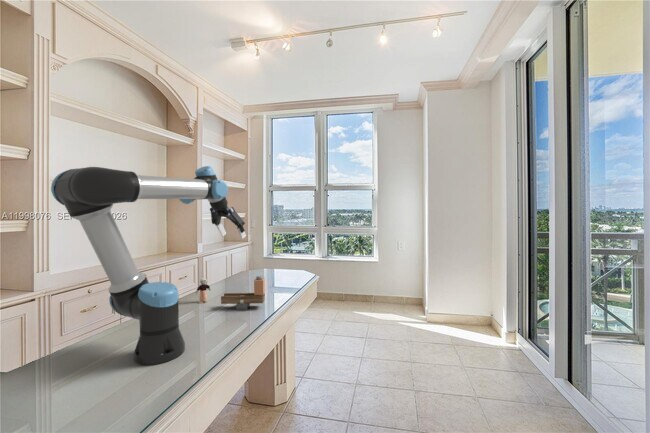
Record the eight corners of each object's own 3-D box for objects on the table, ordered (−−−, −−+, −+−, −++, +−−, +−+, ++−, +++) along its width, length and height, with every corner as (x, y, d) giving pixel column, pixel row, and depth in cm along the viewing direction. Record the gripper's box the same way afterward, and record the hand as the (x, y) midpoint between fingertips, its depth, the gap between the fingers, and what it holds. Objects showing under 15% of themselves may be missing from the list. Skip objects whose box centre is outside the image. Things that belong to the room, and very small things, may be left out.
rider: (263, 298, 147) (263, 277, 147) (254, 298, 147) (254, 277, 147) (264, 295, 152) (264, 275, 151) (256, 295, 152) (255, 275, 151)
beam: (262, 309, 146) (262, 296, 146) (220, 310, 146) (220, 296, 146) (265, 305, 153) (264, 292, 153) (225, 305, 153) (225, 292, 153)
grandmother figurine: (199, 304, 155) (198, 279, 154) (195, 303, 157) (194, 278, 157) (212, 300, 161) (212, 277, 160) (208, 299, 163) (208, 276, 163)
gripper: (241, 195, 137) (257, 233, 147) (204, 194, 149) (221, 229, 160) (230, 203, 132) (247, 243, 142) (193, 202, 144) (211, 238, 154)
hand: (234, 236), depth 151 cm, fingers open, 13 cm apart
